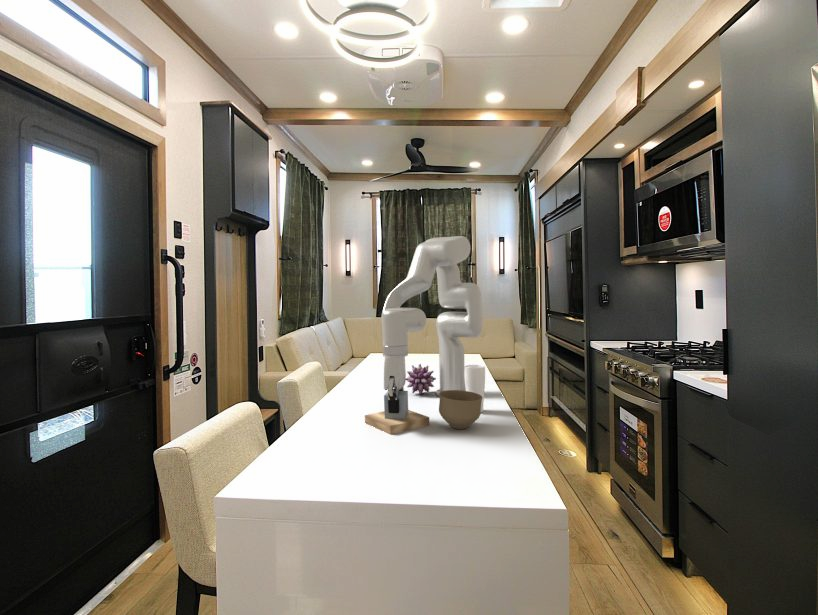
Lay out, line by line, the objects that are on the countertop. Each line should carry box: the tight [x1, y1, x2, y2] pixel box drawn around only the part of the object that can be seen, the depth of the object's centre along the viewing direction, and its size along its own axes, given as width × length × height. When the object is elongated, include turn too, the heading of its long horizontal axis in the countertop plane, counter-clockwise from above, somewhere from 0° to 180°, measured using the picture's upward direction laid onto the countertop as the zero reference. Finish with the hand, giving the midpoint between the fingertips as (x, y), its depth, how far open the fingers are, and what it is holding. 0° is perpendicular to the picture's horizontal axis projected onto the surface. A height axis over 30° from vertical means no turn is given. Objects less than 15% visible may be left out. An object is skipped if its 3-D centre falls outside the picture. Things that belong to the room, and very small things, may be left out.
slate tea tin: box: [383, 390, 409, 419], centre depth 139 cm, size 6×6×7 cm
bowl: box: [438, 390, 482, 430], centre depth 134 cm, size 13×13×10 cm
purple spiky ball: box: [406, 363, 437, 395], centre depth 177 cm, size 12×12×12 cm
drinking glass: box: [464, 364, 486, 413], centre depth 151 cm, size 7×7×15 cm
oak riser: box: [364, 409, 430, 435], centre depth 139 cm, size 14×14×3 cm
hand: (396, 409), depth 139 cm, fingers open, 6 cm apart
